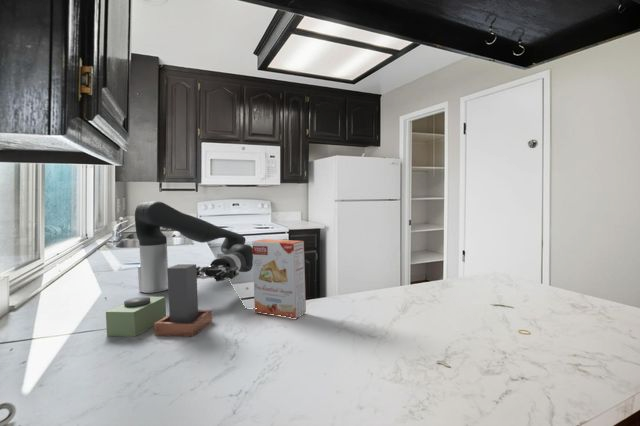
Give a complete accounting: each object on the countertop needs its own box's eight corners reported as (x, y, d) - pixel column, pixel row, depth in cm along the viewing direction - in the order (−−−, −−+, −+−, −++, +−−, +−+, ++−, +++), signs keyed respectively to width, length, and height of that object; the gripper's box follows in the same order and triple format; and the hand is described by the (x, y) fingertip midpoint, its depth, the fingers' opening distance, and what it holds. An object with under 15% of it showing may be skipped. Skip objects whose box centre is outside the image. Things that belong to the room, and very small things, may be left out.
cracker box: (253, 313, 96) (251, 240, 95) (266, 307, 101) (264, 238, 101) (295, 320, 90) (293, 242, 89) (306, 313, 95) (304, 239, 94)
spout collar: (154, 335, 82) (154, 323, 82) (177, 320, 92) (176, 309, 92) (193, 336, 81) (192, 324, 81) (212, 321, 91) (211, 310, 91)
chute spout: (170, 331, 84) (167, 268, 84) (181, 324, 89) (178, 264, 89) (188, 332, 84) (185, 268, 83) (198, 324, 89) (196, 264, 88)
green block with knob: (107, 335, 83) (105, 307, 83) (141, 317, 96) (140, 293, 95) (135, 336, 82) (133, 308, 82) (166, 317, 95) (165, 293, 94)
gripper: (246, 277, 112) (226, 291, 96) (206, 277, 114) (180, 290, 98) (246, 255, 112) (225, 264, 96) (205, 255, 114) (179, 265, 98)
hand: (202, 278), depth 97 cm, fingers open, 8 cm apart
